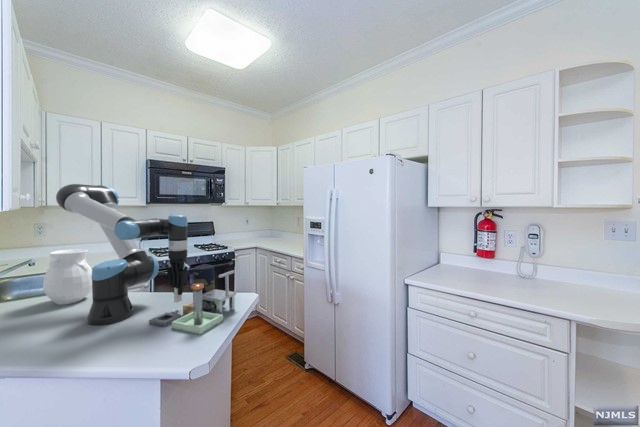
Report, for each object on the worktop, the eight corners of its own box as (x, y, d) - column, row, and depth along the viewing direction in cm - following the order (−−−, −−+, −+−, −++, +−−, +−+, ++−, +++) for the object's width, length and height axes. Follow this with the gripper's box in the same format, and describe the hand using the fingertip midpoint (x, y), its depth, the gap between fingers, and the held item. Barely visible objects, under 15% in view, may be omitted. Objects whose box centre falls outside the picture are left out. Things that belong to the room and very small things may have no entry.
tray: (171, 328, 101) (171, 321, 101) (196, 316, 112) (196, 310, 112) (200, 334, 96) (200, 327, 96) (223, 321, 107) (223, 314, 107)
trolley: (198, 314, 114) (197, 273, 114) (215, 305, 124) (214, 268, 123) (220, 318, 110) (219, 275, 109) (236, 308, 120) (235, 270, 119)
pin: (189, 324, 103) (188, 286, 102) (198, 320, 107) (197, 282, 106) (198, 326, 101) (197, 287, 101) (206, 321, 105) (206, 283, 105)
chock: (182, 314, 114) (182, 305, 114) (191, 310, 119) (191, 301, 119) (194, 316, 112) (194, 307, 112) (202, 311, 117) (202, 302, 117)
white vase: (71, 308, 121) (69, 254, 121) (31, 308, 122) (29, 254, 121) (104, 294, 140) (103, 247, 139) (70, 294, 140) (68, 247, 140)
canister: (219, 299, 132) (218, 263, 132) (201, 305, 124) (201, 267, 124) (207, 295, 137) (206, 261, 137) (189, 301, 129) (189, 264, 129)
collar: (149, 323, 105) (149, 320, 105) (167, 315, 112) (167, 312, 112) (164, 327, 102) (164, 323, 102) (181, 318, 110) (181, 315, 110)
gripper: (159, 249, 117) (159, 302, 118) (182, 252, 113) (181, 306, 114) (174, 247, 124) (174, 296, 125) (195, 249, 120) (195, 300, 121)
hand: (177, 301), depth 119 cm, fingers closed
